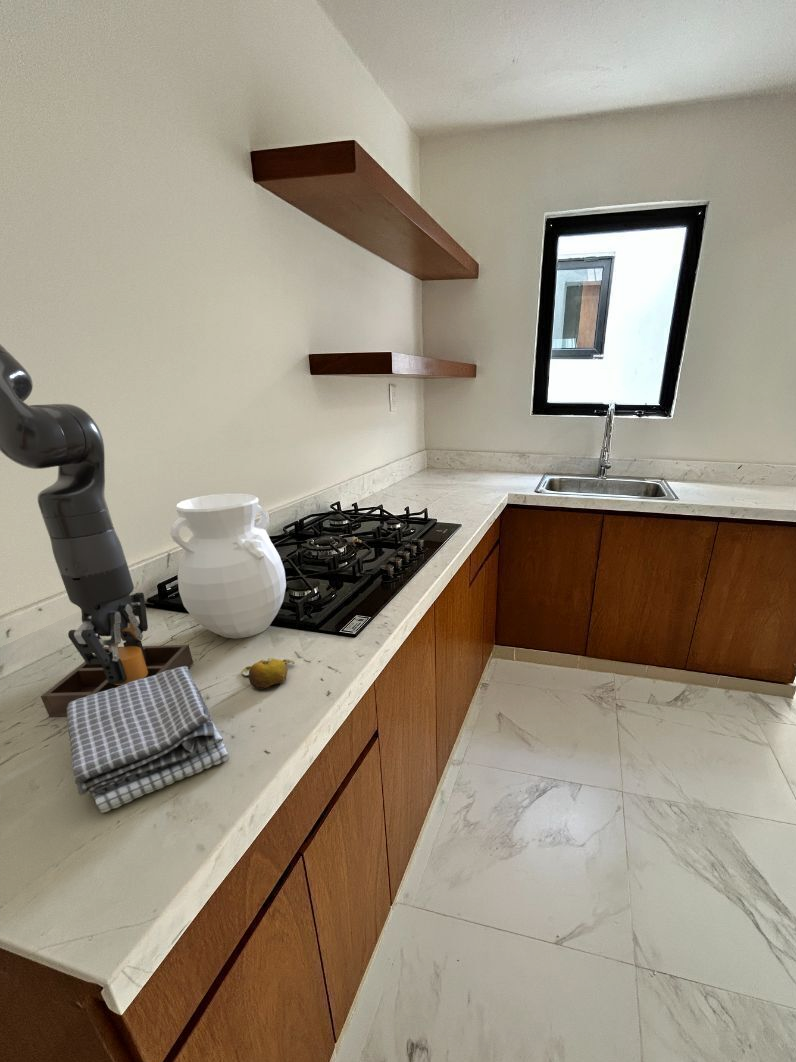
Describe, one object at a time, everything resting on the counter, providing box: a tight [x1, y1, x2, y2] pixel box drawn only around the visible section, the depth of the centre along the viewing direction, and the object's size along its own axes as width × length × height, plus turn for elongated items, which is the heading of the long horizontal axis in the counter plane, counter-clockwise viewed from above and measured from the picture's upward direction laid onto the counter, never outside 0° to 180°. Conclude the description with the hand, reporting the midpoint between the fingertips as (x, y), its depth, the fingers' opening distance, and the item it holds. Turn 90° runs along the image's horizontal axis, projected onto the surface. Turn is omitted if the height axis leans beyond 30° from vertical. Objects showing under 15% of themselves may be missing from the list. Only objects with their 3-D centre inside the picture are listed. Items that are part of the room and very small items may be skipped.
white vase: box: [170, 492, 287, 640], centre depth 93 cm, size 19×18×25 cm
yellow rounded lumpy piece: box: [241, 658, 295, 691], centre depth 80 cm, size 8×8×4 cm
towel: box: [66, 666, 230, 814], centre depth 63 cm, size 15×18×8 cm
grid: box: [40, 644, 194, 718], centre depth 78 cm, size 14×14×4 cm
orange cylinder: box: [115, 646, 148, 685], centre depth 73 cm, size 5×5×4 cm
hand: (128, 672), depth 74 cm, fingers closed on orange cylinder, 4 cm apart
